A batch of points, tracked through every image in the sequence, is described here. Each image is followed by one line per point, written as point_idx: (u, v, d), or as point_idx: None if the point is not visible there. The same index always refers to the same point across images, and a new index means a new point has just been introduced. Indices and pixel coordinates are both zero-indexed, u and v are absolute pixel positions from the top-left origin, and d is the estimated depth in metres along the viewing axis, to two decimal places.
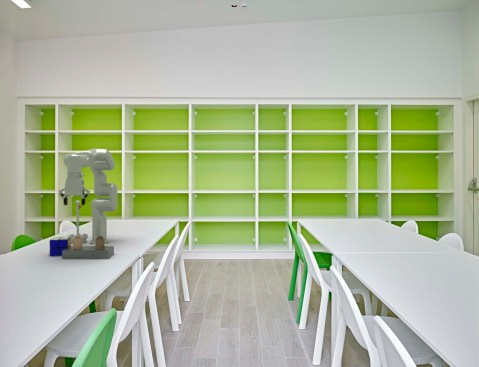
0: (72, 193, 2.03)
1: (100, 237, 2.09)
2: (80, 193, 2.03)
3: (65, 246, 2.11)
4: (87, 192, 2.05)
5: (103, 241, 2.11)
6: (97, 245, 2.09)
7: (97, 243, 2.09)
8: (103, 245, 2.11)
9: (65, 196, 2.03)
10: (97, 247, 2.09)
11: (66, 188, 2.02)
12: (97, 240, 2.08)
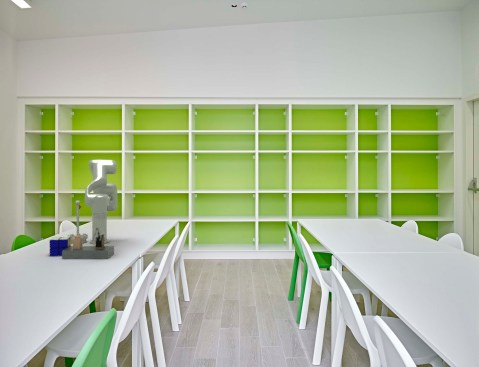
0: (103, 232, 2.10)
1: None
2: (105, 231, 2.15)
3: (65, 246, 2.11)
4: None
5: (103, 241, 2.11)
6: None
7: None
8: (103, 245, 2.11)
9: None
10: (97, 247, 2.09)
11: (101, 229, 2.07)
12: None
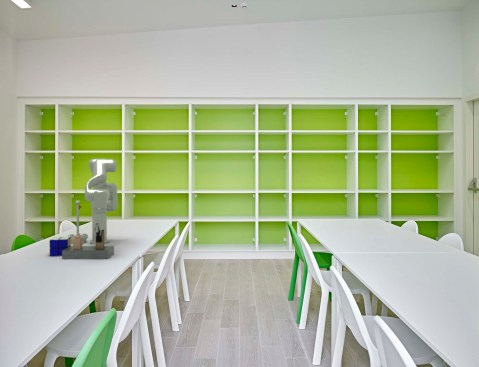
0: (103, 227, 2.10)
1: None
2: (105, 226, 2.14)
3: (65, 246, 2.11)
4: None
5: (103, 236, 2.11)
6: None
7: None
8: (103, 240, 2.11)
9: None
10: (97, 242, 2.08)
11: (101, 224, 2.07)
12: None
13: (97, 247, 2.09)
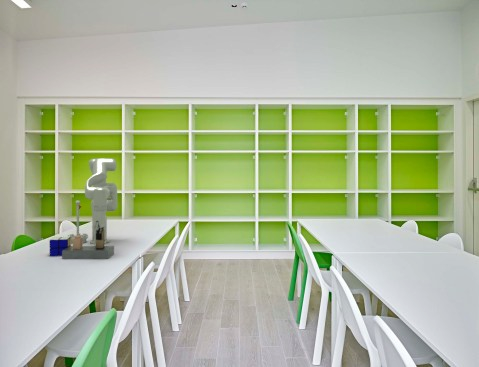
0: (103, 225, 2.10)
1: None
2: (105, 224, 2.14)
3: (65, 246, 2.11)
4: (104, 225, 2.16)
5: (103, 234, 2.11)
6: None
7: None
8: (103, 238, 2.11)
9: None
10: (97, 240, 2.08)
11: (101, 221, 2.07)
12: None
13: (97, 245, 2.09)
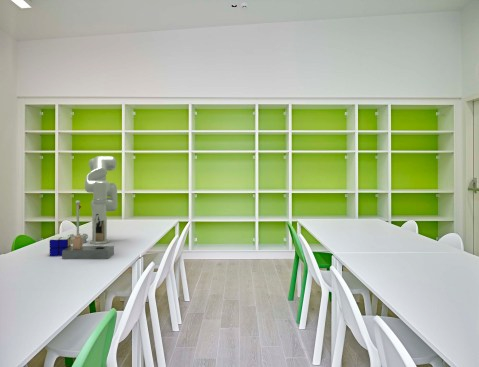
0: (103, 218, 2.10)
1: None
2: (105, 217, 2.14)
3: (65, 246, 2.11)
4: None
5: (103, 227, 2.11)
6: None
7: None
8: (103, 231, 2.10)
9: None
10: (97, 233, 2.08)
11: (101, 214, 2.06)
12: None
13: (97, 238, 2.08)
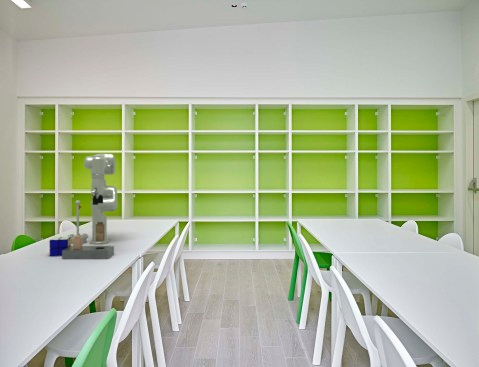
0: (101, 192, 2.22)
1: (100, 223, 2.09)
2: (103, 192, 2.26)
3: (65, 246, 2.11)
4: None
5: (103, 227, 2.11)
6: (97, 231, 2.08)
7: (97, 229, 2.08)
8: (103, 231, 2.10)
9: (97, 196, 2.18)
10: (97, 233, 2.08)
11: (99, 188, 2.19)
12: (97, 226, 2.08)
13: (97, 238, 2.08)
